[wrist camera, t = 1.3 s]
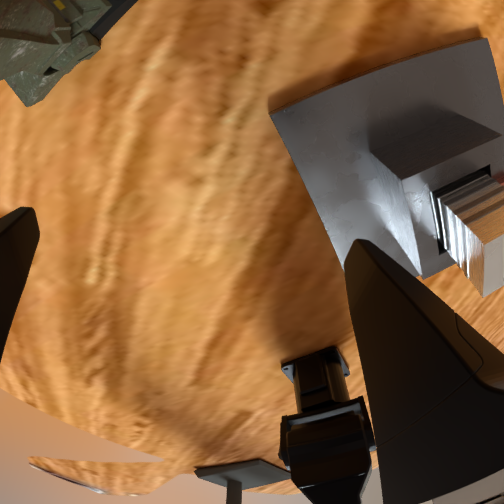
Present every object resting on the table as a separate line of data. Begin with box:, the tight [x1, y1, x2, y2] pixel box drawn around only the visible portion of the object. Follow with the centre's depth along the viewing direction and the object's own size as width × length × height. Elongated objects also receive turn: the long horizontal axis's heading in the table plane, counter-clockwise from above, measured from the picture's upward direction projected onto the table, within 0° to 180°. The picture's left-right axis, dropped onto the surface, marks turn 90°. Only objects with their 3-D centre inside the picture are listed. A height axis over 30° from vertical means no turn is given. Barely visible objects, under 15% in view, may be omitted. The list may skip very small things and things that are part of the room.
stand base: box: [269, 37, 504, 280], centre depth 19 cm, size 18×18×7 cm
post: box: [429, 169, 504, 298], centre depth 17 cm, size 4×4×10 cm
